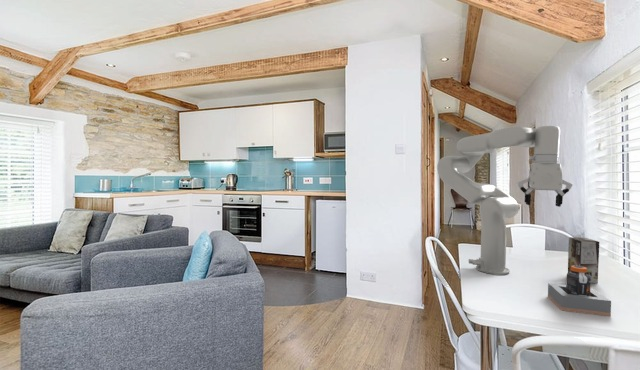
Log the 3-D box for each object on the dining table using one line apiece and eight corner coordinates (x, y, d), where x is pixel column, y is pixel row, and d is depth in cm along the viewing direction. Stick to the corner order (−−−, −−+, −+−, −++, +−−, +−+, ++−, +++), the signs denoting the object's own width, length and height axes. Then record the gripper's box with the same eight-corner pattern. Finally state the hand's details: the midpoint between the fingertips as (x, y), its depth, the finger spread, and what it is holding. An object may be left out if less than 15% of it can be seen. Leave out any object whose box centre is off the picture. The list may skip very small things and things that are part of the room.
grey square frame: (561, 310, 98) (562, 295, 98) (547, 296, 110) (548, 283, 109) (610, 316, 94) (611, 301, 94) (590, 301, 106) (591, 287, 106)
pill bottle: (591, 307, 98) (592, 270, 98) (566, 303, 101) (568, 267, 101) (587, 301, 103) (589, 266, 103) (564, 297, 106) (565, 263, 106)
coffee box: (598, 283, 124) (600, 241, 123) (579, 282, 125) (581, 240, 125) (584, 276, 133) (586, 237, 132) (566, 275, 134) (568, 236, 134)
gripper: (521, 159, 120) (518, 205, 121) (577, 159, 114) (574, 208, 115) (516, 159, 127) (514, 203, 128) (569, 160, 122) (566, 205, 122)
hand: (542, 205), depth 122 cm, fingers open, 9 cm apart
